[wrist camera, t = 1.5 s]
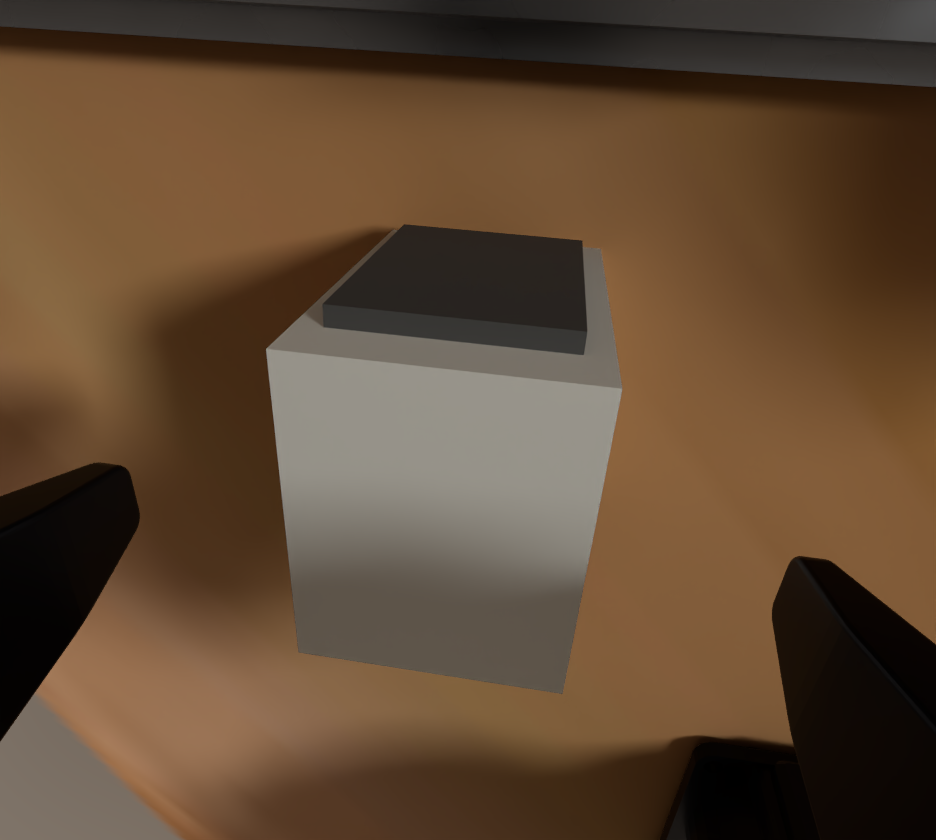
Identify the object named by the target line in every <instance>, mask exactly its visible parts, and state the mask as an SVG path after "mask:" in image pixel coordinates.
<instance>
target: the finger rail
mask: <svg viewBox="0 0 936 840" xmlns="http://www.w3.org/2000/svg"><path fill="white" fill-rule="evenodd" d="M0 26H3V27H18V28H34V29H49V30H64V31H80V32H95V33H111V34H126V35H141V36H157V37H172V38H187V39H203V40H218V41H234V42H249V43H264V44H280V45H295V46H310V47H326V48H341V49H356V50H372V51H387V52H403V53H418V54H433V55H449V56H464V57H479V58H495V59H510V60H526V61H541V62H556V63H572V64H587V65H602V66H618V67H633V68H649V69H664V70H679V71H695V72H710V73H725V74H741V75H756V76H771V77H787V78H802V79H818V80H833V81H848V82H864V83H879V84H894V85H910V86H925V87H936V0H0Z"/></svg>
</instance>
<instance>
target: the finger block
mask: <svg viewBox="0 0 936 840" xmlns="http://www.w3.org/2000/svg"><path fill="white" fill-rule="evenodd" d="M266 354H267V363H268V372H269V382H270V391H271V400H272V410H273V419H274V428H275V437H276V447H277V456H278V465H279V475H280V484H281V493H282V503H283V512H284V521H285V530H286V540H287V549H288V558H289V568H290V577H291V586H292V596H293V605H294V614H295V623H296V633H297V642H298V651H299V652H300V653H306V654H312V655H319V656H325V657H331V658H338V659H344V660H350V661H357V662H363V663H370V664H376V665H382V666H389V667H395V668H401V669H408V670H414V671H420V672H427V673H433V674H439V675H446V676H452V677H458V678H465V679H471V680H477V681H484V682H490V683H497V684H503V685H509V686H516V687H522V688H528V689H535V690H541V691H547V692H554V693H560V694H562V693H563V688H564V683H565V678H566V673H567V668H568V663H569V658H570V653H571V648H572V642H573V637H574V632H575V627H576V622H577V617H578V612H579V607H580V602H581V597H582V592H583V586H584V581H585V576H586V571H587V566H588V561H589V556H590V551H591V546H592V541H593V535H594V530H595V525H596V520H597V515H598V510H599V505H600V500H601V495H602V490H603V485H604V479H605V474H606V469H607V464H608V459H609V454H610V449H611V444H612V439H613V434H614V428H615V423H616V418H617V413H618V408H619V403H620V398H621V393H622V384H621V377H620V371H619V364H618V358H617V351H616V345H615V338H614V332H613V325H612V319H611V312H610V306H609V299H608V293H607V286H606V280H605V273H604V267H603V260H602V254H601V249H597V248H586V247H583V245H582V241H581V240H570V239H559V238H548V237H537V236H526V235H515V234H504V233H493V232H482V231H471V230H460V229H449V228H438V227H427V226H416V225H405V224H404V225H403V226H402V227H401V228H400V229H399V230H392V231H391V232H390V233H389V234H388V235H387V236H385V237H384V238H383V239H382V240H381V241H380V242H379V243H378V244H377V245H376V246H375V247H374V248H373V249H372V250H371V251H370V252H368V253H367V254H366V255H365V256H364V257H363V258H362V259H361V260H360V261H359V262H358V263H357V264H356V265H355V266H354V267H353V268H351V269H350V270H349V271H348V272H347V273H346V274H345V275H344V276H343V277H342V278H341V279H340V280H339V281H338V282H337V283H336V284H334V285H333V286H332V287H331V288H330V289H329V290H328V291H327V292H326V293H325V294H324V295H323V296H322V297H321V298H320V299H318V300H317V301H316V302H315V303H314V304H313V305H312V306H311V307H310V308H309V309H308V310H307V311H306V312H305V313H304V314H303V315H301V316H300V317H299V318H298V319H297V320H296V321H295V322H294V323H293V324H292V325H291V326H290V327H289V328H288V329H287V330H286V331H284V332H283V333H282V334H281V335H280V336H279V337H278V338H277V339H276V340H275V341H274V342H273V343H272V344H271V345H270V346H269V347H267V348H266Z"/></svg>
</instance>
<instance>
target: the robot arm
mask: <svg viewBox="0 0 936 840" xmlns="http://www.w3.org/2000/svg"><path fill="white" fill-rule="evenodd" d="M139 519H140V513H139V508H138V504H137V500H136V496H135V492H134V487H133V483H132V479H131V476H130V473H129V471H128V470H127V469H126V468H125V467H123V466H121V465H114V464H106V463H92V464H89V465H86V466H83V467H81V468H78V469H75V470H72V471H70V472H67V473H64V474H61V475H58V476H56V477H53V478H50V479H47V480H45V481H42V482H39V483H36V484H33V485H31V486H28V487H25V488H22V489H20V490H17V491H14V492H11V493H8V494H6V495H3V496H0V741H1V740H2V738H3V737H4V736H5V734H6V733H7V731H8V730H9V729H10V727H11V726H12V724H13V723H14V721H15V720H16V719H17V717H18V716H19V714H20V713H21V712H22V710H23V709H24V707H25V706H26V704H27V703H28V702H29V700H30V699H31V697H32V696H33V695H34V693H35V692H36V690H37V689H38V687H39V686H40V685H41V683H42V682H43V680H44V679H45V677H46V676H47V675H48V673H49V672H50V670H51V669H52V668H53V666H54V665H55V663H56V662H57V660H58V659H59V658H60V656H61V655H62V653H63V652H64V651H65V649H66V648H67V646H68V645H69V643H70V642H71V641H72V639H73V638H74V636H75V635H76V633H77V632H78V630H79V629H80V627H81V626H82V624H83V623H84V621H85V619H86V618H87V616H88V614H89V613H90V611H91V610H92V608H93V606H94V605H95V603H96V601H97V599H98V597H99V596H100V594H101V592H102V590H103V589H104V587H105V585H106V583H107V581H108V580H109V578H110V576H111V574H112V573H113V571H114V569H115V567H116V566H117V564H118V562H119V560H120V558H121V557H122V555H123V553H124V551H125V550H126V548H127V546H128V544H129V543H130V541H131V539H132V537H133V535H134V534H135V532H136V530H137V527H138V524H139ZM772 623H773V629H774V635H775V641H776V647H777V654H778V660H779V666H780V672H781V678H782V684H783V691H784V697H785V703H786V709H787V715H788V721H789V726H790V731H791V736H792V740H793V744H794V748H795V752H796V755H797V756H795V755H789V754H783V753H776V752H770V751H764V750H758V749H752V748H745V747H739V746H733V745H727V744H721V743H711V742H708V743H703V744H700V745H698V746H696V747H695V749H694V750H693V752H692V755H691V758H690V760H689V763H688V766H687V768H686V771H685V774H684V776H683V779H682V782H681V784H680V787H679V790H678V792H677V795H676V798H675V800H674V803H673V806H672V808H671V811H670V814H669V816H668V819H667V822H666V824H665V827H664V830H663V832H662V835H661V838H660V840H936V644H935V643H933V642H932V641H931V640H930V639H928V638H927V637H926V636H925V635H923V634H922V633H921V632H919V631H918V630H917V629H916V628H914V627H913V626H912V625H911V624H909V623H908V622H907V621H906V620H904V619H903V618H902V617H901V616H899V615H898V614H897V613H896V612H894V611H893V610H892V609H891V608H889V607H888V606H887V605H886V604H884V603H883V602H882V601H881V600H879V599H878V598H877V597H876V596H874V595H873V594H872V593H871V592H869V591H868V590H867V589H865V588H864V587H863V586H862V585H860V584H859V583H858V582H857V581H855V580H854V579H853V578H852V577H850V576H849V575H848V574H847V573H845V572H844V571H843V570H842V569H840V568H839V567H838V566H837V565H835V564H834V563H833V562H831V561H829V560H826V559H819V558H811V557H804V556H798V557H795V558H793V559H792V560H791V562H790V563H789V565H788V567H787V570H786V572H785V575H784V577H783V580H782V582H781V585H780V588H779V590H778V593H777V595H776V598H775V600H774V603H773V608H772Z"/></svg>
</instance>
